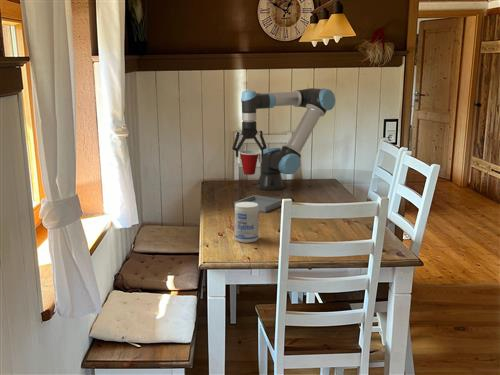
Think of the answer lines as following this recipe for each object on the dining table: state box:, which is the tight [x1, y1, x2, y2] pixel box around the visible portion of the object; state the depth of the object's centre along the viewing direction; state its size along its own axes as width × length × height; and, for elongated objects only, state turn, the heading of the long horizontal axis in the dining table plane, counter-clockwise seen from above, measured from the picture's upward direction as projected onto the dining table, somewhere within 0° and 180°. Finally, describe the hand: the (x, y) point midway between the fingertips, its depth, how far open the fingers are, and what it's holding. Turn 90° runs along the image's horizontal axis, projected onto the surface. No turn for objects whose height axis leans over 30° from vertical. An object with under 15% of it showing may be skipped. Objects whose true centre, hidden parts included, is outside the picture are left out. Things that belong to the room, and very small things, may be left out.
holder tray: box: [233, 194, 283, 214], centre depth 269 cm, size 18×18×3 cm
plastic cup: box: [239, 150, 260, 176], centre depth 285 cm, size 11×11×12 cm
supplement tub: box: [234, 202, 260, 244], centre depth 215 cm, size 10×10×15 cm
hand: (249, 162), depth 285 cm, fingers closed on plastic cup, 11 cm apart
